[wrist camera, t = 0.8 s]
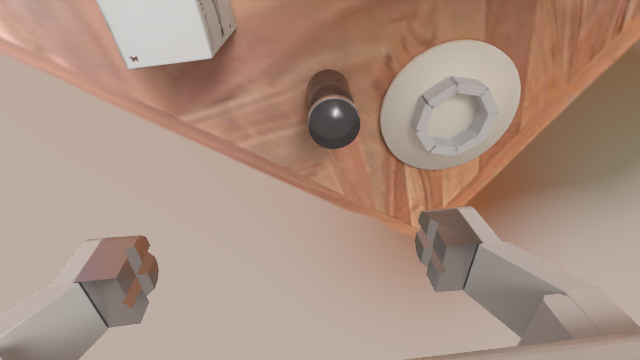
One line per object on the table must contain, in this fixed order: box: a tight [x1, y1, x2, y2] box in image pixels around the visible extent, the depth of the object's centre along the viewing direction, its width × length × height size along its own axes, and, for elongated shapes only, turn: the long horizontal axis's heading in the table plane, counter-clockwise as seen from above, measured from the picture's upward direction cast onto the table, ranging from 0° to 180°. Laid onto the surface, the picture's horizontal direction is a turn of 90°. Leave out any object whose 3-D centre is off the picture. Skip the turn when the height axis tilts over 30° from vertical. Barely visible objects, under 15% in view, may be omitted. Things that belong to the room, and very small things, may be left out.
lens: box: [308, 70, 360, 149], centre depth 37 cm, size 5×5×10 cm
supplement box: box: [96, 0, 237, 70], centre depth 29 cm, size 7×7×13 cm
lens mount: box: [380, 39, 521, 170], centre depth 42 cm, size 18×18×4 cm
